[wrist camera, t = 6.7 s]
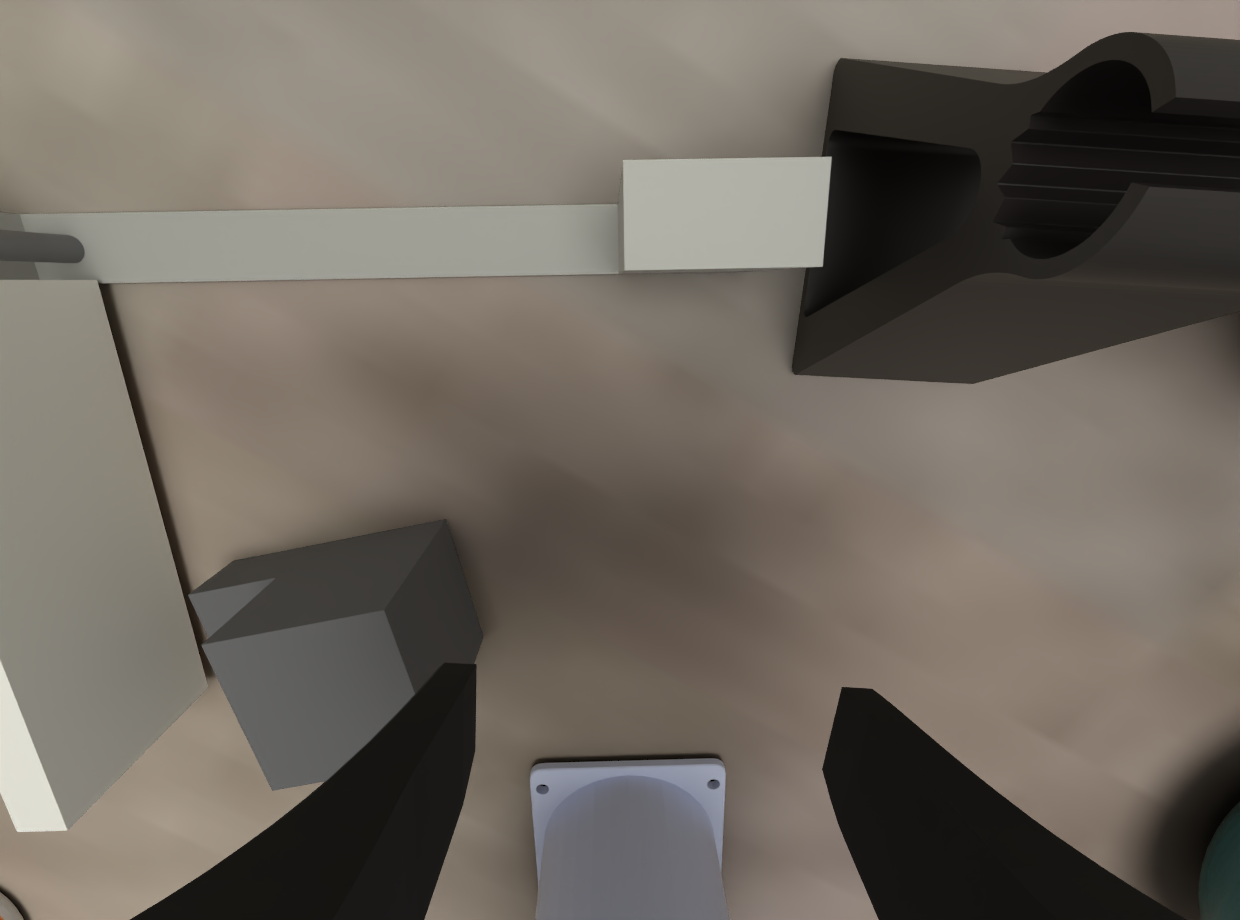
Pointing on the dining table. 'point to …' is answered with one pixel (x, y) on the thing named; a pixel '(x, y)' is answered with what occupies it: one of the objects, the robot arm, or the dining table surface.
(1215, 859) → the vase
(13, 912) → the pill bottle
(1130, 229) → the phone stand
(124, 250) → the grey u-shaped bar
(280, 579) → the dark grey block
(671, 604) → the dining table surface
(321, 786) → the robot arm
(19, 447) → the door
